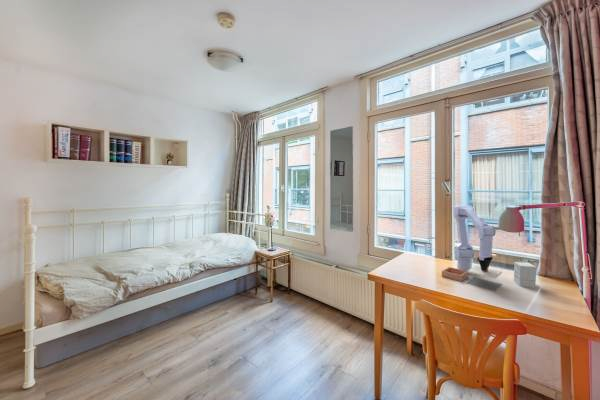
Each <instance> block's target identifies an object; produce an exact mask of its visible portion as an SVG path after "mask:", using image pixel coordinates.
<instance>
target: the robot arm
mask: <svg viewBox="0 0 600 400" xmlns="http://www.w3.org/2000/svg"><path fill="white" fill-rule="evenodd" d="M452 211H453V218H454V219H455V220H456V221H455V223H456V229H457V230H456V231H457V236H458V237H457V238H458V244H456V245H455V246H454V255H455V257H456V259H457V262H456V263H457V264H456V266H457V267H456V269H460V270H464V271H468V270H470V269H471V268H473V264H472V263H473V261H472V259H474V257H475V251H474V249H473V246H472V245H471V244H469V241H468V233H467V225H466V220H467V219H468V218H469V219H470V220H471V221H472V224H473V226H474V227H475V228H476V229H477V232H478V238H479V253H478V257H477V261H478V262H479V267H481V270H483V271H486V269H487V266H488V269H490V268H489V267H490V264H491V262H492V260H493V258H494V257H495V255H494V254H493V238H494V236H495V235H496V228H495V227H494V226H493V225H490V224H488V223H487V222H486V221H485V220H484V219H483V218H482V217H479V216H478V215H477V214H476V213H475V209H474V207H473V206H472V205H470V204H469V205H455V206H454V208H453V210H452ZM469 274H470V273H468V275H469Z"/></svg>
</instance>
